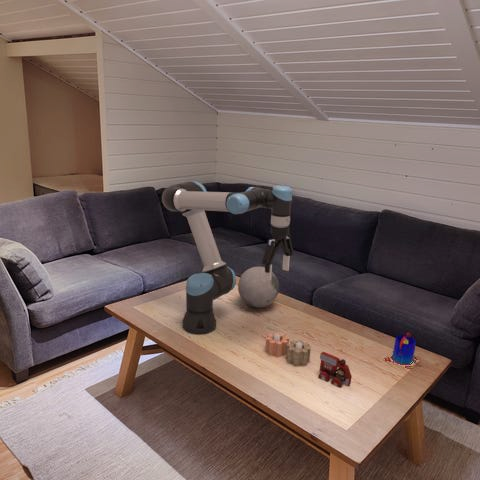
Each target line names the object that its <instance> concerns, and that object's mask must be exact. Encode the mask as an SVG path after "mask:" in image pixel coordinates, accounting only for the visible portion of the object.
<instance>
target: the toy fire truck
mask: <svg viewBox="0 0 480 480" xmlns="http://www.w3.org/2000/svg"><path fill="white" fill-rule="evenodd" d="M319 358H320V364H319V374H318V376H317V378H318V379H320V380H322V381H324V382H327V383H328V382H329V381H330V384H331V385H333V386H334V387H337V388H338V389H339V388H340V389H341V388H342V387H343V385H344V386H347V387H348V386H350V385H351V383H352V373H351V370H350V367H349V365H348V364H347V362H346V359H343V358H341V359H340V358H339V357H338V356H335V355H333V354H330V353H328V352H327V351H326V352H325V351H322V352H321V353H320V355H319Z"/></svg>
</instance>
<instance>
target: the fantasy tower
mask: <svg viewBox="0 0 480 480" xmlns="http://www.w3.org/2000/svg"><path fill="white" fill-rule="evenodd" d="M416 344H417V341H416V339H415V338H414V337H413V336H412V334H411V333H409V332H407V333H406V334H398V335H397V336H395V340H394V347H393V350H394V351H393V350H392V354H393V355H392V354H391V355H392V356H391V355H390V356H391V357H390V356H387V357H384V358H383V360H384V359H385V360H384V361H385V362H386V361H389V362H391V363H392V361H391V360H390V358H391V359H392V360H393V362H395V363H397V364H400V365H411V364H412V363H413V362H414V361H415V360H414V359H413V358H415V359H416V360H418V358H419V357H417V356H416V357H415V355H414V354H415V351H416ZM389 357H390V358H389ZM412 361H413V362H412ZM389 362H388V363H389ZM411 362H412V363H411ZM410 363H411V364H410ZM405 368H407V369H411V366H405Z"/></svg>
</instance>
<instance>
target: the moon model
mask: <svg viewBox="0 0 480 480" xmlns="http://www.w3.org/2000/svg"><path fill="white" fill-rule="evenodd" d="M237 291H238V293H239V297H240V298H241V300H242V301H243V303H245V304H246V305H248V306H249V307H252V308H257V309H258V308H260V309H261V308H265V307H268V306H270V305H271V304H272V303H273V302H275V300H276V299H277V297H278V295H279V291H280V283H279V280H278V277H277V276H276V275H275V273H274V272H273V271H272V275H271V280H267V279H265V266H253V267H250V268H248V269H247V270H245V271H244V272H243V273H242V274H241V276H240V278H239V280H238V285H237Z"/></svg>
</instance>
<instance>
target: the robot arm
mask: <svg viewBox="0 0 480 480" xmlns="http://www.w3.org/2000/svg"><path fill="white" fill-rule="evenodd" d="M292 192H293V189H292V188H291V187H290V186H287V185H275V186H273V187H272V189H267V188H263V187H260V186H259V187H258V186H250V187H247V189H246V190H245V191H242V192H229V191H228V192H227V191H226V192H224V191H223V192H222V191H207V188H206V187H205V186H204V185H203V184H202V183H200V182H198V181H195V180H194V181H186V182H182V183H176V184H172V185H169V186H167V187H166V188H165V189H164V191H163V192H162V195H161V202H162V204H163V206H164V207H165V208H166V209H167V210H169V211H170V212H181V214H182V216H184V217H186V219H187V222H188V225H189V227H190V231H191V234H192V236H193V238H194V241H195V245H196V248H197V250H198V254H199V256H200V259H201V263H202V265H203V269H202V271H201V272H200V273H194V274H192V275H190V276H189V277H188V278H187V279H186V286H185V297H186V298H185V301H186V302H185V303H186V305H185V307H186V309H185V310H186V311H185V313H184V317H183V319H182V324H181V325H182V329H183V330H184V331H185V332H187V333H188V334H192V335H207V334H209V333H211V332H214V331H215V330H216V328H217V319H216V317H215V313H214V309H213V308H214V301H215V300H217V299H218V298H220V297H222V296H224V295H227V294H228V293H230V292H231V291H233V290H234V289H235V287H236V284H237V277H236V273H235V271H234V270H233V269H232V268H231V267H229V266H228V265H227V263H226V262H225V261H223V260H222V258H221V255H220V252H219V249H218V246H217V244H216V243H217V242H216V239H215V237H214V235H213V233H212V229H211V226H210V223H209V221H208V217H207V213H206V212H205V211H211V212H214V211H215V212H228V213H231V214H233V215H239V214H241V215H242V214H244V213H247V212H249V211H252V210H256V209H258V208H264V209H270V210H271V214H270V215H271V216H270V229H269V230H270V231H269V233H270V235H271V236H272V238H271V239H267V242H266V243H267V244H266V248H265V250H264V253H263V254H264V255H263V257H262V260H261V264H263V265H264V267H265V279H267V280H271V275H272V272H273V271H272V270H273V264H272V262H273V260H274V258H275V256H276V253H277V252H278V251H279V250H280V249H281V250H282V251H283V253H284V254H283V255H282V256H283V257H282V268H281V269H282V270H283V271H287V272H289V269H290V258H291V257H292V256H293V253H294V248H293V243H292V239H291V236H292V235H291V233H290V223H291V207H292V201H293V193H292Z"/></svg>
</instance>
